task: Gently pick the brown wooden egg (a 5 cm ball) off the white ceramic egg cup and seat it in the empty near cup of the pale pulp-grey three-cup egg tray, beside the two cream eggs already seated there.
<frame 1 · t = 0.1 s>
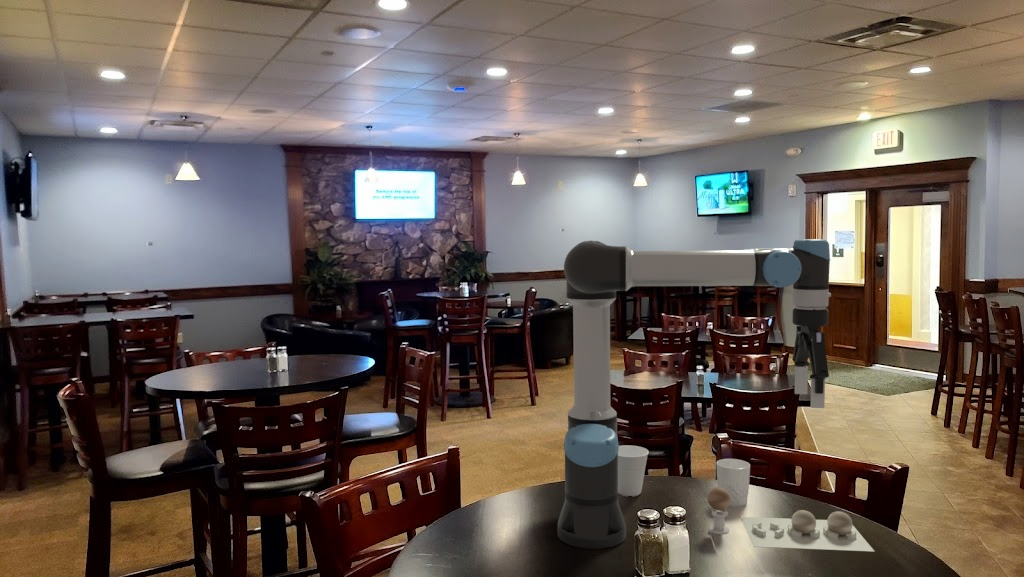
hand: (808, 400, 165), 28 cm above the table, fingers open, 13 cm apart
egg: (719, 509, 161), point 5 cm above the table, touching egg cup
egg cup: (718, 532, 161), on the table
egg cream far: (839, 534, 158), point 1 cm above the table, touching tray
cup: (629, 493, 186), on the table
tray: (803, 535, 159), on the table
white cup: (732, 504, 178), on the table
egg cream mid: (803, 533, 159), point 1 cm above the table, touching tray
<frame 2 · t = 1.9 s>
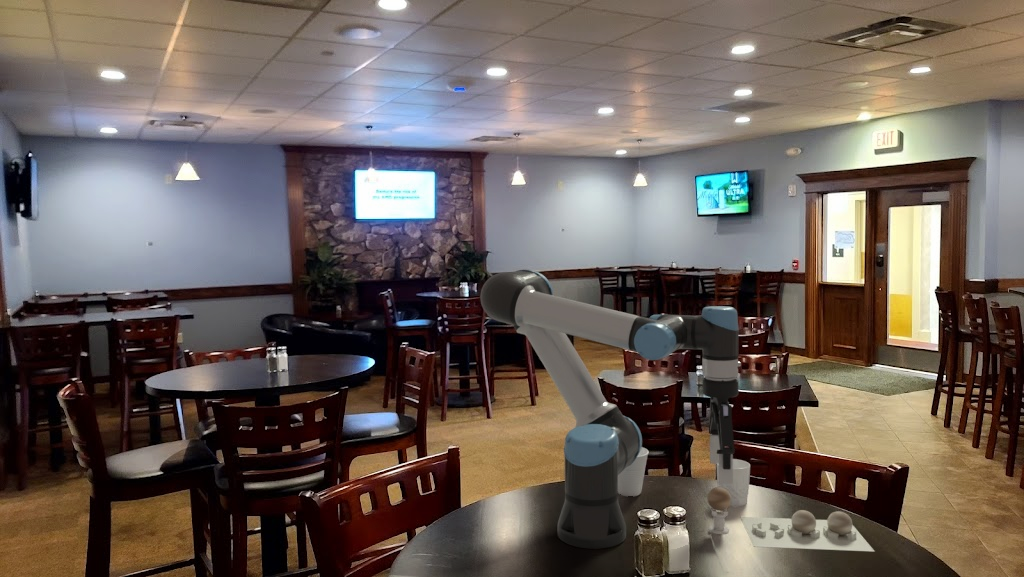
hand: (720, 472, 160), 14 cm above the table, fingers open, 13 cm apart
nothing on the table moved.
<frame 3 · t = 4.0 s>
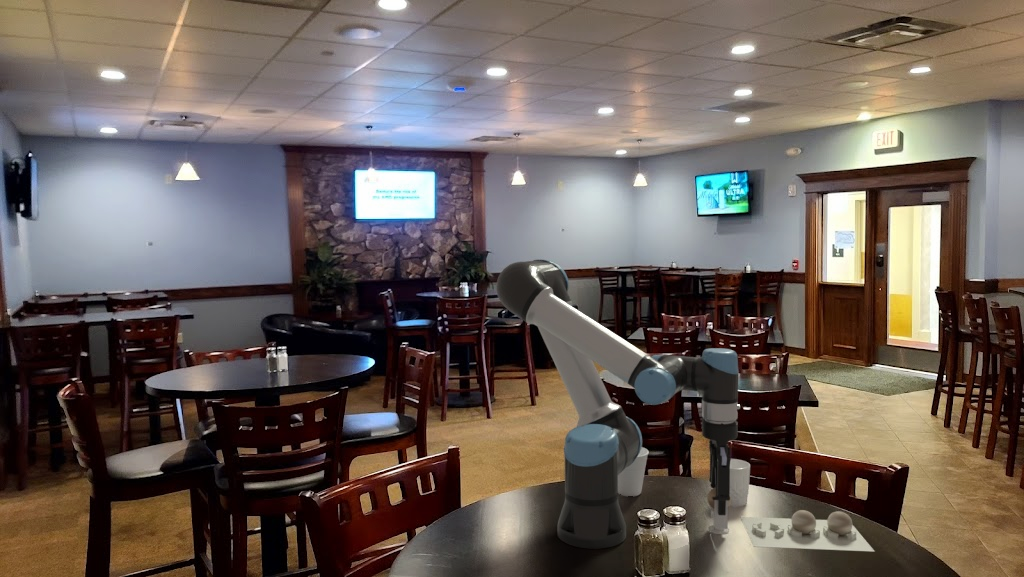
hand: (718, 522, 161), 2 cm above the table, fingers closed on egg, 5 cm apart
egg: (719, 509, 161), point 5 cm above the table, touching egg cup, gripper
everything else where it was.
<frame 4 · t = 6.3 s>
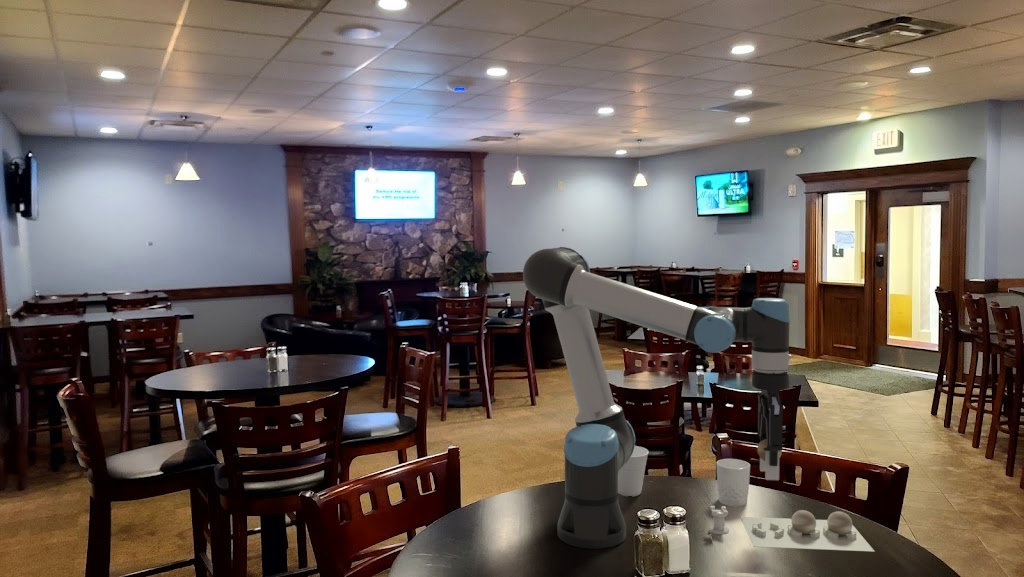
hand: (769, 474, 159), 13 cm above the table, fingers closed on egg, 5 cm apart
egg: (769, 461, 158), point 16 cm above the table, touching gripper
everything else where it was.
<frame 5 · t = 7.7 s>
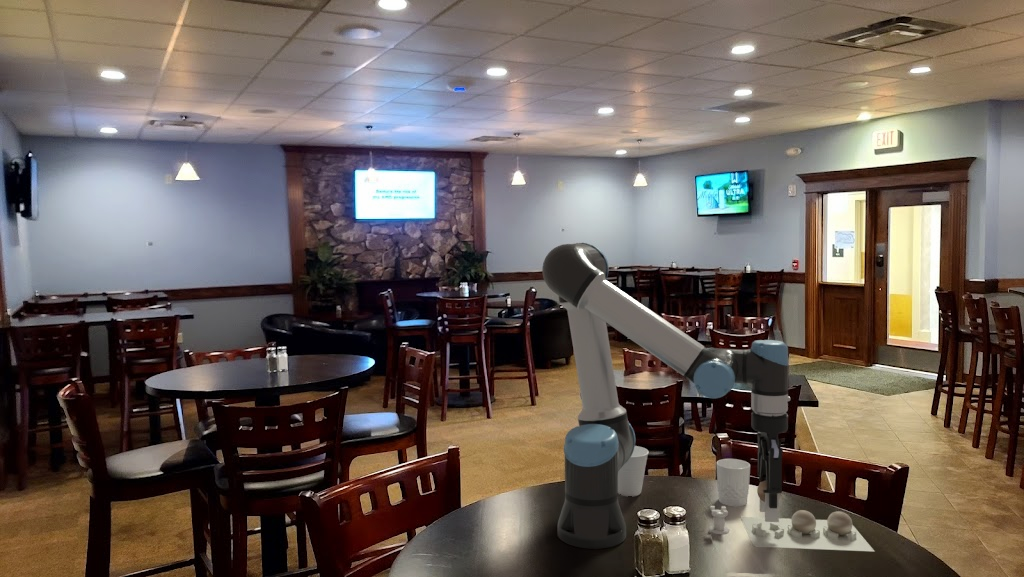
hand: (769, 516, 159), 4 cm above the table, fingers closed on egg, 5 cm apart
egg: (769, 503, 159), point 7 cm above the table, touching gripper
everything else where it was.
when the fingers open (3 cm above the table, at t = 8.8 s): egg drops 5 cm, resting on tray.
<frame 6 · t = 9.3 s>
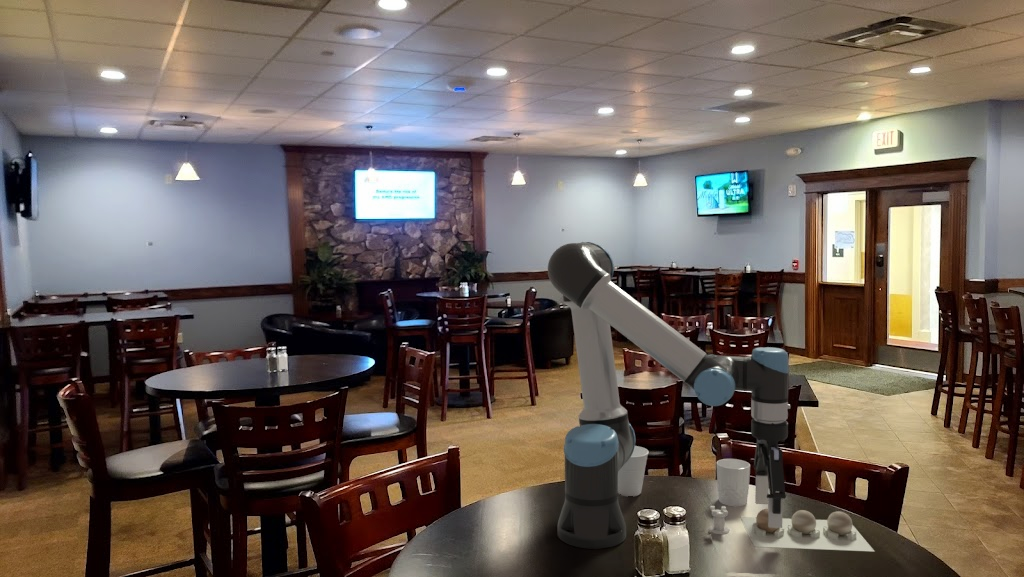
hand: (768, 515, 159), 4 cm above the table, fingers open, 13 cm apart
egg: (768, 531, 160), point 1 cm above the table, touching tray
everything else where it was.
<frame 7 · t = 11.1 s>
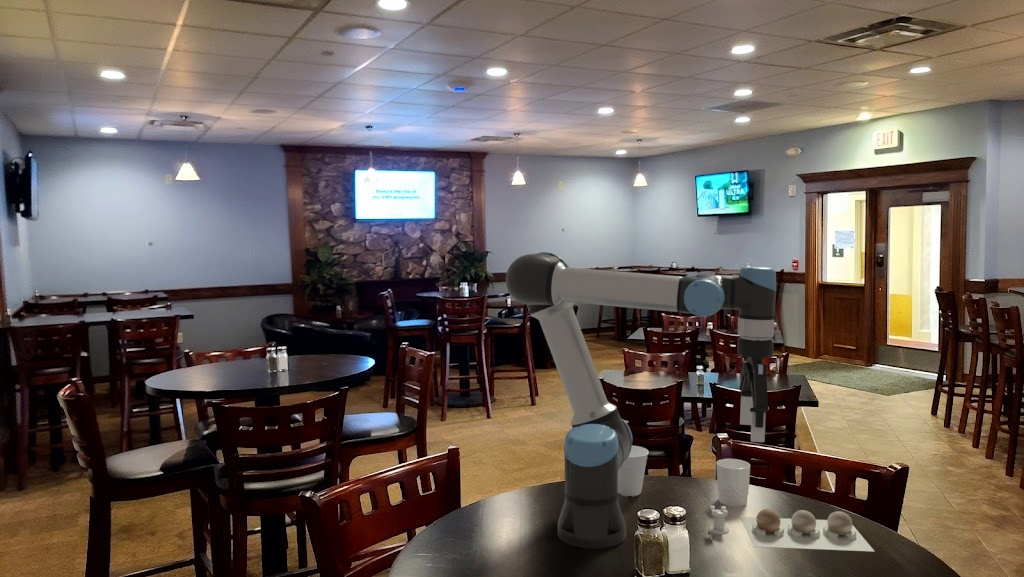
hand: (751, 432, 161), 22 cm above the table, fingers open, 13 cm apart
nothing on the table moved.
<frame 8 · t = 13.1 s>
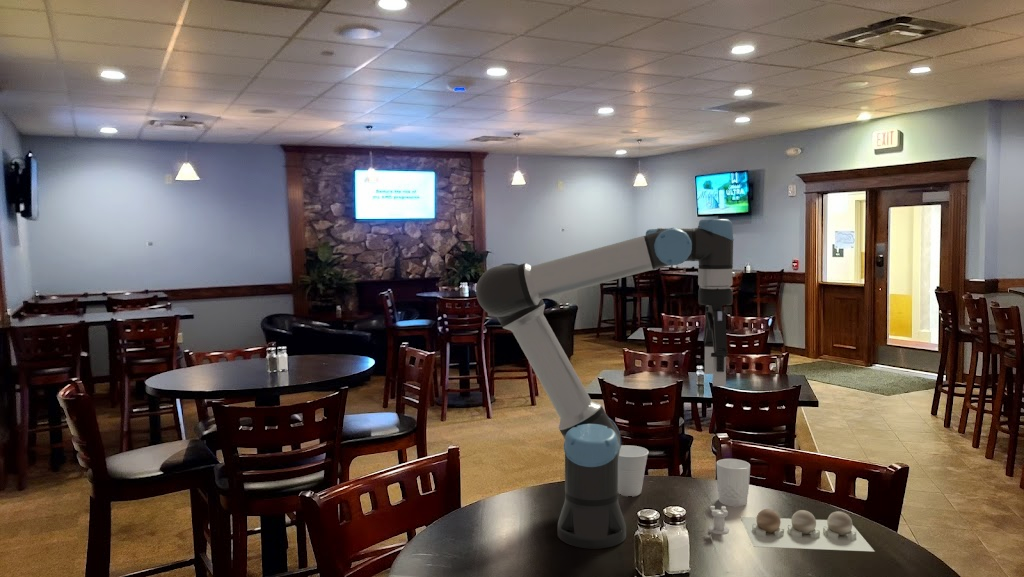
hand: (714, 379, 167), 33 cm above the table, fingers open, 13 cm apart
nothing on the table moved.
at the end: egg 0.0 cm from the target spot on the tray, point 0.6 cm above the tray's base; the gripper is holding nothing; egg cream mid moved 0.2 cm from its start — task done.
